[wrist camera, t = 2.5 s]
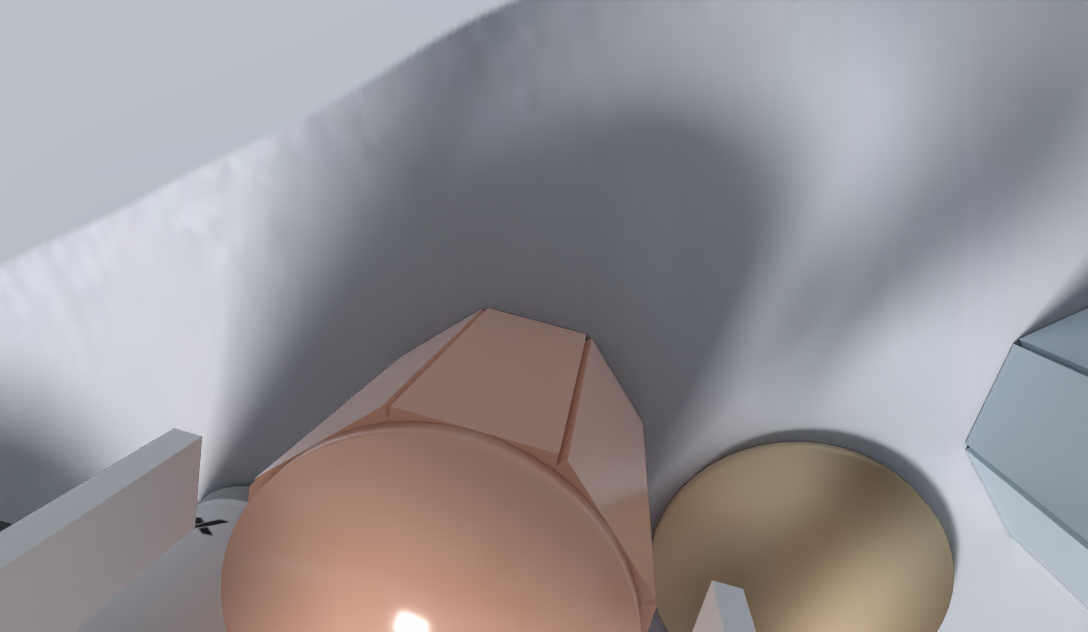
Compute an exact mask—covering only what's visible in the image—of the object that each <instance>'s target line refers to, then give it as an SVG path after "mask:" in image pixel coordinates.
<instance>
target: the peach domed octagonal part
mask: <svg viewBox="0 0 1088 632" xmlns="http://www.w3.org/2000/svg"><path fill="white" fill-rule="evenodd" d="M586 335H587V334H584V333H580V332H576V331H573V330H569V329H565V328H561V327H558V326H554V325H550V324H547V323H543V322H539V321H535V320H532V319H528V318H524V317H520V316H517V315H513V314H509V313H505V312H502V311H498V310H494V309H491V308H487V309H486V310H485V311H483V309H480V310H479V311H477V312H475V313H474V314H472V315H470V316H468V317H467V318H465V319H463V320H462V321H460V322H458V323H457V324H455V325H453V326H452V327H450V328H448V329H446V330H445V331H443V332H441V333H440V334H438V335H436V336H435V337H433V338H431V339H429V340H428V341H426V342H424V343H423V344H421V345H419V346H418V347H416V348H414V349H412V350H411V351H409V352H407V353H406V354H404V355H402V356H401V357H400V358H399V359H397V360H396V361H395V362H394V363H393V364H391V365H390V366H389V367H388V368H387V369H385V370H384V371H383V372H382V373H381V374H379V375H378V376H377V377H376V378H375V379H373V380H372V381H371V382H370V383H369V384H367V385H366V386H365V387H364V388H363V389H361V390H360V391H359V392H358V393H357V394H355V395H354V396H353V397H352V398H351V399H349V400H348V401H347V402H346V403H345V404H343V405H342V406H341V407H340V408H339V409H337V410H336V411H335V412H334V413H333V414H331V415H330V416H329V417H328V418H327V419H325V420H324V421H323V422H322V423H321V424H319V425H318V426H317V427H316V428H315V429H313V430H312V431H311V432H310V433H309V434H307V435H306V436H305V437H304V438H303V439H301V440H300V441H299V442H298V443H297V444H295V445H294V446H293V447H292V448H291V449H289V450H288V451H287V452H286V453H285V454H283V455H282V456H281V457H280V458H279V459H277V460H276V461H275V462H274V463H273V464H271V465H270V466H269V467H268V468H267V469H265V470H264V471H263V472H262V473H261V474H259V475H258V476H257V477H256V478H255V479H254V480H255V482H253V483H252V484H251V485H250V487H249V496H248V505H247V506H246V507H245V509H244V510H243V512H242V514H241V515H240V517H239V519H238V521H237V523H236V525H235V527H234V528H233V531H232V533H231V536H230V539H229V542H228V545H227V548H226V551H225V556H224V562H223V567H222V573H221V601H222V610H223V618H224V622H225V626H226V630H227V632H648V630H649V627H650V625H651V622H652V619H653V616H654V613H655V610H656V608H657V606H656V593H655V579H654V565H653V552H652V538H651V524H650V511H649V497H648V483H647V470H646V456H645V442H644V429H643V422H642V420H641V419H640V417H639V415H638V414H637V412H636V410H635V409H634V407H633V405H632V404H631V402H630V400H629V399H628V397H627V396H626V394H625V392H624V391H623V389H622V387H621V386H620V384H619V382H618V381H617V379H616V377H615V376H614V374H613V372H612V371H611V369H610V367H609V366H608V364H607V362H606V361H605V359H604V357H603V356H602V354H601V353H600V351H599V349H598V348H597V346H596V344H595V343H594V341H593V339H592V338H591V339H589V340H587V341H585V340H586Z"/></svg>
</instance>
